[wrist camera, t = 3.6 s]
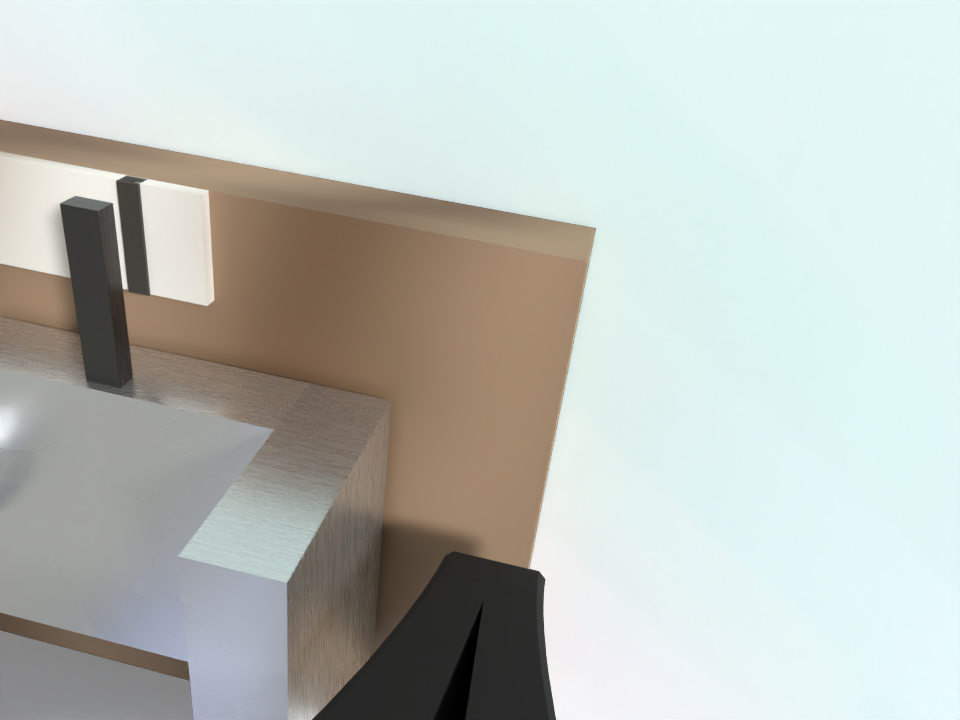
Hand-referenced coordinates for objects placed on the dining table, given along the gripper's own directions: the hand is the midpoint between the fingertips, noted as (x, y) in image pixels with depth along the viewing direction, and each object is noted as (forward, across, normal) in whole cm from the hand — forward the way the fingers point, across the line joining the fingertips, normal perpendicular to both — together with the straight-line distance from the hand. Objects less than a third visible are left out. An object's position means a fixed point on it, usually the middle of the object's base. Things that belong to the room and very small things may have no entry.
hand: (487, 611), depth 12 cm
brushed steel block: (+1, +6, -1) cm, 6 cm away
